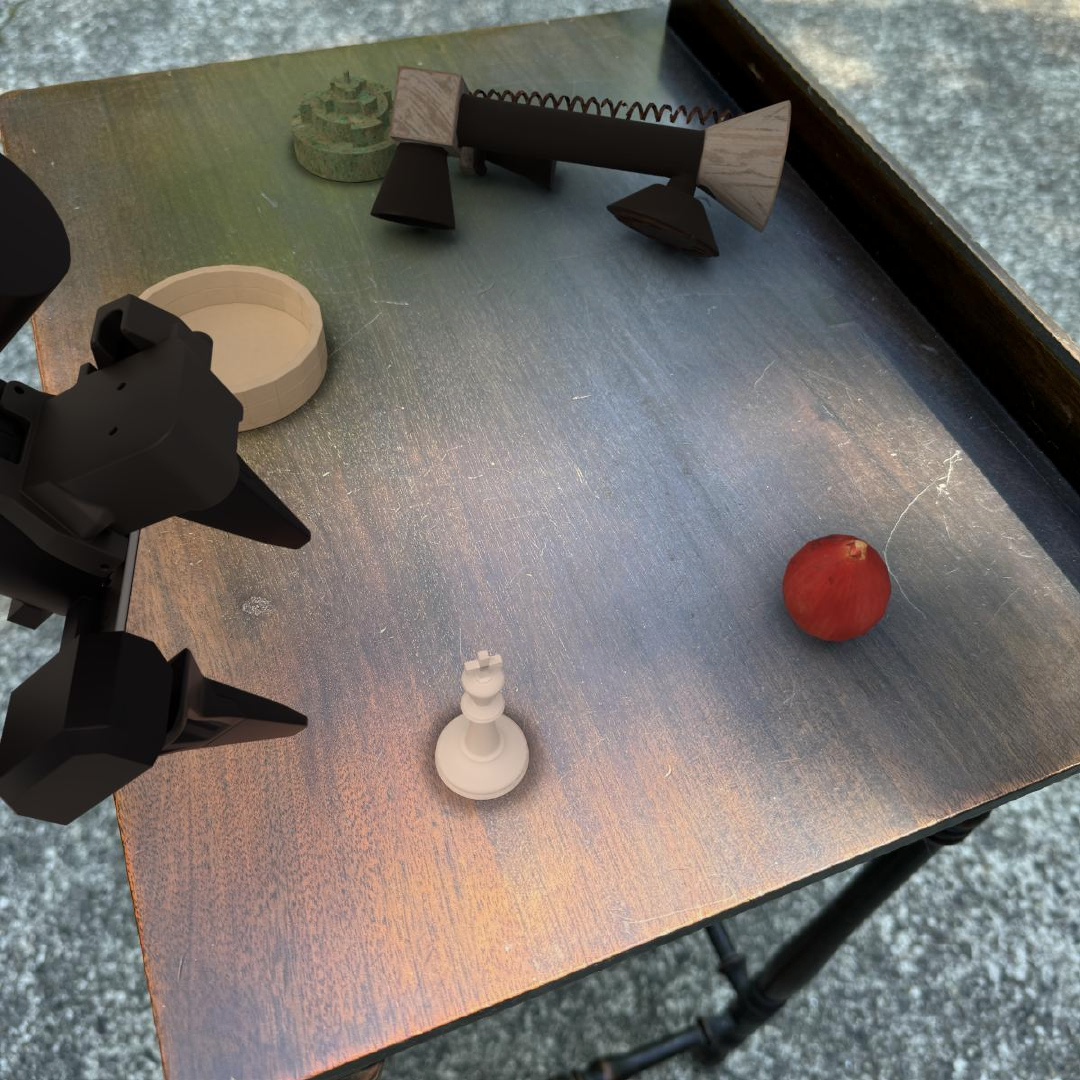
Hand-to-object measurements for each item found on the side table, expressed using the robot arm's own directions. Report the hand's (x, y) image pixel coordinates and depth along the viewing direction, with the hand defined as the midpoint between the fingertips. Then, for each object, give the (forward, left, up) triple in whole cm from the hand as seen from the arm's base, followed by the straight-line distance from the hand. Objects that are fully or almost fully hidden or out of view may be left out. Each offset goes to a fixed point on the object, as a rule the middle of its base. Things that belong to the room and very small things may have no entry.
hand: (303, 628), depth 42 cm
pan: (-4, +32, -13) cm, 35 cm away
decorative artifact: (+8, +58, -13) cm, 60 cm away
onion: (+28, +3, -13) cm, 32 cm away
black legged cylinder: (+24, +44, -13) cm, 52 cm away
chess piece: (+7, -1, -13) cm, 15 cm away
